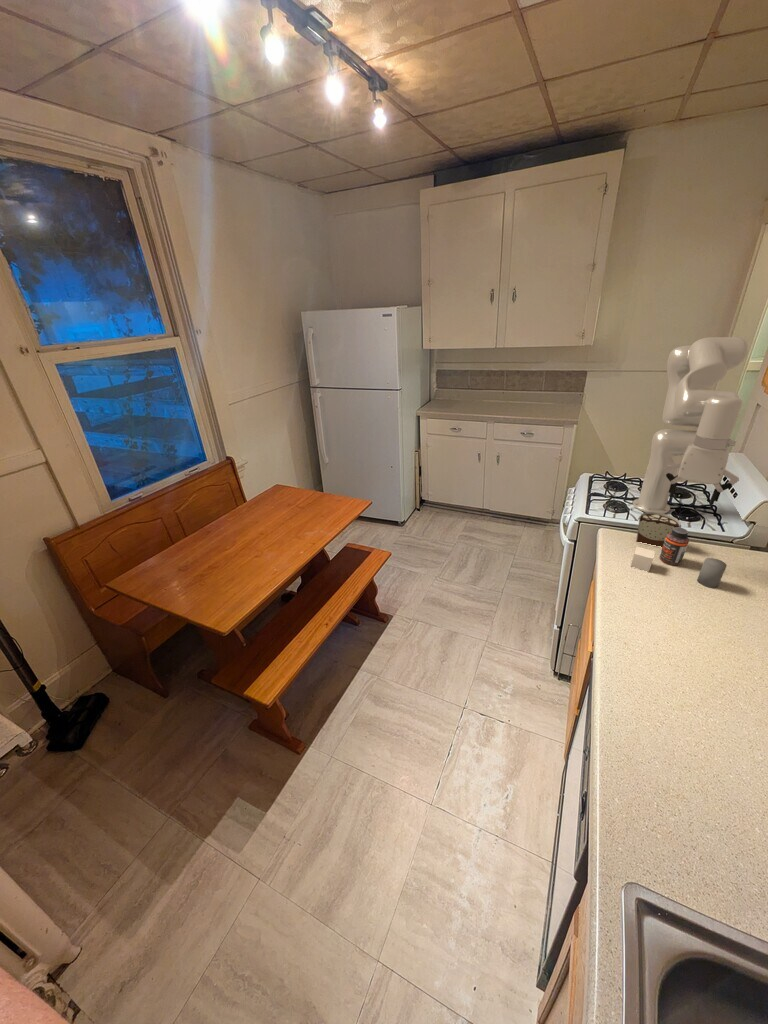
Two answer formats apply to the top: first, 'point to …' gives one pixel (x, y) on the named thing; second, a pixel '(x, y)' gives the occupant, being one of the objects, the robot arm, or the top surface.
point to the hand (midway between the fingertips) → (691, 498)
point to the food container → (655, 527)
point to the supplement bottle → (674, 546)
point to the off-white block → (642, 559)
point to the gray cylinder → (711, 572)
